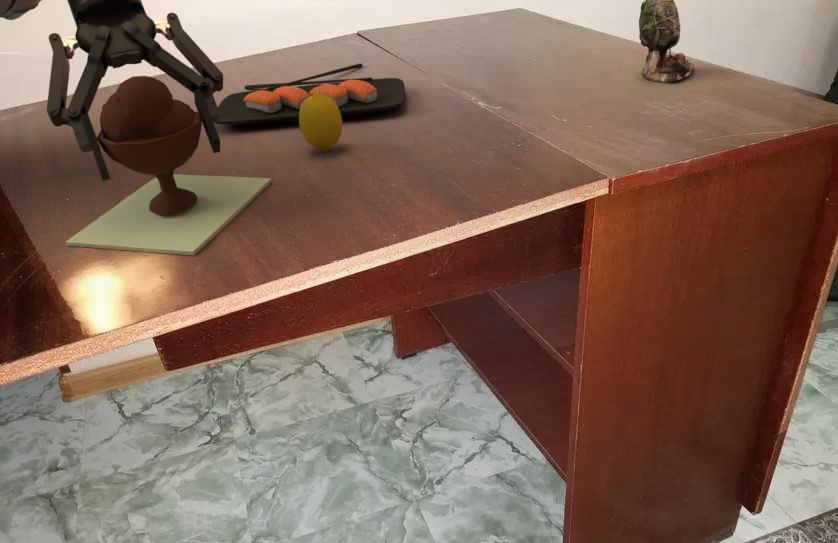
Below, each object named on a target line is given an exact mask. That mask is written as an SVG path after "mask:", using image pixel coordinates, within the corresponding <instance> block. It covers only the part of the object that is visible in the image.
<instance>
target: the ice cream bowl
mask: <svg viewBox="0 0 838 543" xmlns="http://www.w3.org/2000/svg"><path fill="white" fill-rule="evenodd" d="M99 124H100V130H99V133H98V134H97V135H96V138H97V141H98V144H99V146H100V148H101V149H102V150H103V152H104V154H106V155H107V156H108V157H109V158H110V159H111V160H112V161H113V162H116V163H117V164H119V165H121V166H123V167H125V168H127V169H129V170H131V171H133V172H136V173H139V174H143V175H146V176H147V175H149V176H150V175H152V176H154V177H156V178H157V179H158V181H159V184H160V188H161V192H160V193H159V194H157V195H156V196H155V197H154V198H153V199H151V202H150V205H149V211H151V212H153V213H155V214H173V213H177V212H180V211H184V210H187V209H188V208H190V207H191V206H193V205H194V204H196V203H197V195H196V194H195V193H194V192H192V191H189V190H187V189H182V188H178V187H177V185H176V182H175V179H174V176H173V174H175V170H177V169H178V168H181V167H182V166H183V165H185V164H186V163H187V162H189V160H190V159H191V158H192V157H193V155H194V153H195V152H196V150H197V149H198V146H199V143H200V138H201V133H202V127H203V124H202V121H201V113H198V111H195V110H193V109H192V107H191V106H190V105H189V104H187V103H185V102H183V101H182V100H179V99H174V98H173V94H172V92H171V91H170V89H169V87H168V86H167V85H166V84H165V82H163V81H161V80H160V79H158V78H156V77H151V76H147V75H138V76H137V75H136V76H135V75H133V76H131V77H129V78H126V79H125V80H124V81H122V82H121V83H119V85H118V87H117V89H116V91H115V92H114V93H113V94H111V95H110V96H109V97H108V99H107V100H106V102H105V103H104V104H103V105H102V106H101V112H100V116H99Z"/></svg>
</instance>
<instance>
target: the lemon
mask: <svg viewBox="0 0 838 543" xmlns="http://www.w3.org/2000/svg"><path fill="white" fill-rule="evenodd" d="M298 124H299V128H300V133H301V134H302V137H303V138H304V140H305V141H306V142H307V144H309V145H311V147H314V148H317V149H320V150H321V151H323V152H328V151H329V149H330V148H331V147H333V146H334V145H336V144H337V142H339V140H340V138H341V137H342V136H341V135H342V134H343V133H342V132H343V117H341V114H340V111H339V108H338V106H337V104H336V103H335V102H334V101H333V100H332V99H331V98H330V97H328V96H326V95H323V94H320V93H319V92H314V93H313V94H312V95H311V96H310V97H308V98H307V99H306V100H305V101H304V102H303V103H302V105H301V108H300V112H299V121H298Z"/></svg>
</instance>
